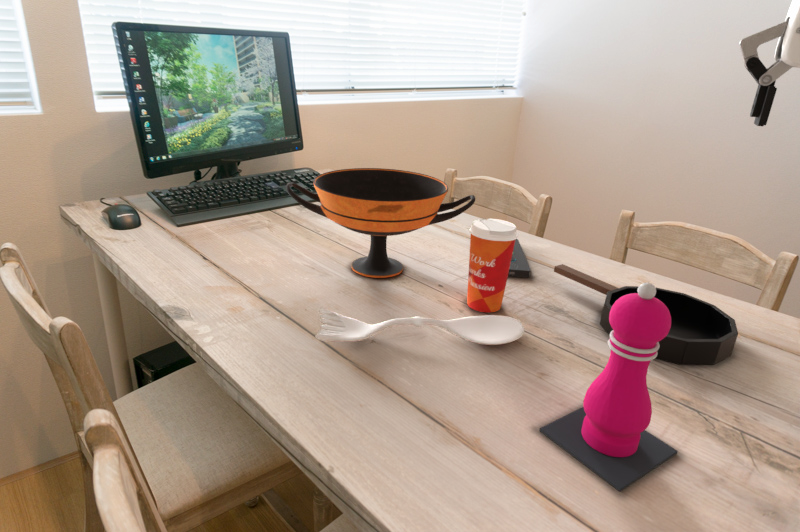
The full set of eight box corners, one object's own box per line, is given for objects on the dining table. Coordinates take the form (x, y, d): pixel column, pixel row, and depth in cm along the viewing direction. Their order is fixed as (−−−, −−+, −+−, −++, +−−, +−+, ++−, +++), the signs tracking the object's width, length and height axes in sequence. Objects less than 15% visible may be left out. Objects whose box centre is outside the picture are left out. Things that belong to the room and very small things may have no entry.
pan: (751, 344, 86) (759, 322, 85) (688, 378, 76) (696, 354, 74) (586, 273, 111) (590, 256, 109) (520, 292, 100) (524, 272, 99)
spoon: (317, 324, 84) (317, 304, 83) (512, 324, 88) (514, 305, 87) (315, 354, 76) (315, 333, 74) (530, 353, 80) (533, 332, 78)
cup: (271, 287, 96) (268, 192, 89) (303, 240, 119) (302, 162, 113) (470, 302, 95) (482, 207, 88) (462, 252, 118) (471, 174, 112)
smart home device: (490, 267, 106) (483, 235, 125) (489, 275, 107) (482, 242, 126) (532, 270, 106) (518, 237, 125) (531, 278, 107) (517, 244, 125)
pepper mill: (578, 453, 59) (616, 292, 52) (574, 414, 66) (607, 265, 58) (647, 467, 58) (696, 303, 50) (636, 426, 64) (678, 275, 57)
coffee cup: (452, 298, 96) (460, 219, 90) (489, 292, 99) (499, 215, 94) (478, 319, 89) (489, 235, 83) (517, 311, 92) (530, 230, 87)
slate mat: (677, 453, 61) (678, 450, 61) (619, 491, 55) (620, 488, 55) (596, 402, 69) (597, 399, 69) (539, 430, 63) (539, 428, 63)
